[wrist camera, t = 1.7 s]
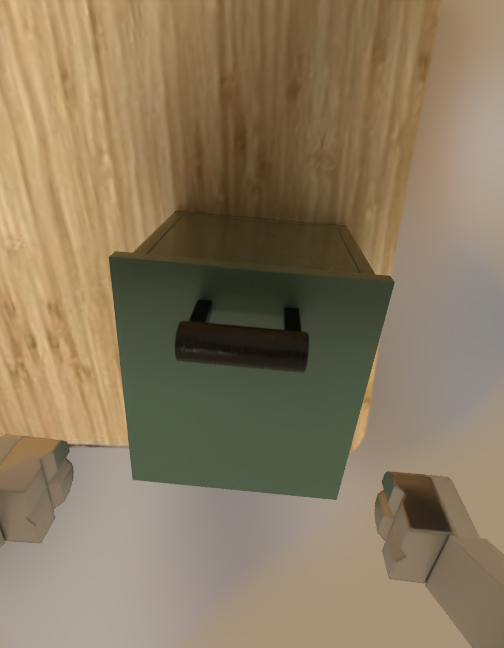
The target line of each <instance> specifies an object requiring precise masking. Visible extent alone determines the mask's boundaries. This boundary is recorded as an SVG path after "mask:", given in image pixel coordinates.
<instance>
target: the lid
mask: <svg viewBox="0 0 504 648" xmlns="http://www.w3.org/2000/svg"><path fill="white" fill-rule="evenodd" d="M109 262H110V272H111V281H112V290H113V300H114V309H115V318H116V328H117V337H118V346H119V356H120V365H121V375H122V384H123V393H124V403H125V412H126V421H127V431H128V440H129V449H130V459H131V468H132V477H133V480H141V481H150V482H161V483H171V484H182V485H191V486H201V487H212V488H221V489H231V490H241V491H252V492H262V493H273V494H282V495H292V496H302V497H314V498H323V499H333V500H336V499H337V496H338V492H339V489H340V485H341V481H342V477H343V474H344V470H345V466H346V462H347V459H348V455H349V451H350V447H351V444H352V440H353V436H354V432H355V429H356V425H357V421H358V417H359V414H360V410H361V406H362V402H363V399H364V395H365V391H366V387H367V384H368V380H369V376H370V372H371V369H372V365H373V361H374V358H375V354H376V350H377V346H378V343H379V339H380V335H381V331H382V328H383V324H384V320H385V316H386V313H387V309H388V305H389V301H390V297H391V294H392V290H393V286H394V281H393V279H392V278H391V277H390V276H386V275H375V274H364V273H352V272H341V271H330V270H319V269H308V268H296V267H285V266H274V265H263V264H252V263H241V262H229V261H218V260H207V259H196V258H185V257H173V256H162V255H151V254H140V253H129V252H118V251H115V252H114V253H113V254H112V255H110V256H109Z"/></svg>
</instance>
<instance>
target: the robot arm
mask: <svg viewBox="0 0 504 648" xmlns="http://www.w3.org/2000/svg"><path fill="white" fill-rule="evenodd" d="M68 453H69V447H68V444H67V442H66V441H62V440H54V439H46V438H37V437H29V436H19V435H10V434H6V435H4V436H2V437H0V547H1V546H2V545H4V544H5V541H14V542H28V543H41V542H42V541H43V539H44V537H45V535H46V533H47V531H48V530H49V528H50V526H51V525H52V523H53V521H54V519H55V515H54V510H53V509H55V508H56V507H57V506H59V505H60V504H62V503H63V502H64V501H65V499H66V497H67V495H68V493H69V491H70V488H71V485H72V481H73V466H72V463H71V462H70V461H69V460H67V459H66V456H67V455H68ZM382 484H383V488H384V490H383V491H381V492H380V493H378V495H377V499H376V502H375V522H376V527H377V531H378V534H379V535H380V536H381V537H382V538H383V539H384V540H385V544H384V547H383V550H382V552H383V556H384V560H385V564H386V568H387V572H388V576H389V579H395V580H403V581H410V582H418V583H426V584H425V586H426V587H427V589H428V590H429V591H430V593H431V594H432V595H433V596H434V598H435V599H436V600H437V602H438V603H439V604H440V606H441V607H442V608H443V610H444V611H445V612H446V614H447V615H448V616H449V618H450V619H451V620H452V621H453V623H454V624H455V625H456V627H457V628H458V629H459V630H460V632H461V633H462V635H463V636H464V637H465V639H466V640H467V641H468V642H469V644H470V645H471V646H472V648H504V554H503V553H502V552H501V551H499V550H498V549H497V548H496V547H495V546H494V545H493V544H491V543H490V542H489V541H488V540H487V539H482V538H480V537H479V535H478V533H477V531H476V529H475V527H474V525H473V523H472V521H471V519H470V517H469V514H468V513H467V510H466V508H465V506H464V504H463V502H462V500H461V498H460V496H459V494H458V492H457V490H456V488H455V486H454V484H453V482H452V480H451V479H450V478H449V477H443V476H432V475H422V474H411V473H399V472H386V473H385V475H384V477H383V480H382Z"/></svg>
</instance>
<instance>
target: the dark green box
mask: <svg viewBox="0 0 504 648" xmlns="http://www.w3.org/2000/svg"><path fill="white" fill-rule="evenodd" d="M133 253H140V254H151V255H162V256H173V257H185V258H196V259H207V260H218V261H229V262H241V263H252V264H263V265H274V266H285V267H296V268H308V269H319V270H330V271H341V272H352V273H364V274H375V273H374V271H373V270H372V268H371V266H370V265H369V263H368V261H367V260H366V258H365V256H364V255H363V253H362V251H361V250H360V248H359V246H358V245H357V243H356V241H355V240H354V238H353V236H352V235H351V233H350V231H349V230H348V228H347V226H340V225H329V224H317V223H306V222H295V221H283V220H272V219H260V218H249V217H237V216H226V215H215V214H203V213H192V212H180V211H175V212H174V213H173V214H172V215H171V216H170V217H169V218H168V219H167V220H166V221H165V222H164V223H163V224H162V225H161V226H160V227H159V228H158V229H157V230H156V231H155V232H154V233H152V234H151V235H150V236H149V237H148V238H147V239H146V240H145V241H144V242H143V243H142V244H141V245H140V246H139V247H138V248H137V249H136V250H135V251H134V252H133Z"/></svg>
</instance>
